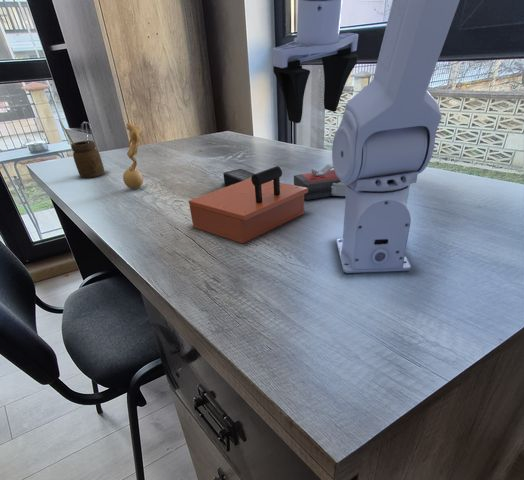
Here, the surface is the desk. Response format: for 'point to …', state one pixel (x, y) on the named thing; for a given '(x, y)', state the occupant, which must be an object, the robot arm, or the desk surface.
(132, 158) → the figurine
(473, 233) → the desk surface
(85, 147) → the brown clasp jar
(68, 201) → the desk surface
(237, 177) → the multiport hub
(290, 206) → the tray
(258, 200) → the lid
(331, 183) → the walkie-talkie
